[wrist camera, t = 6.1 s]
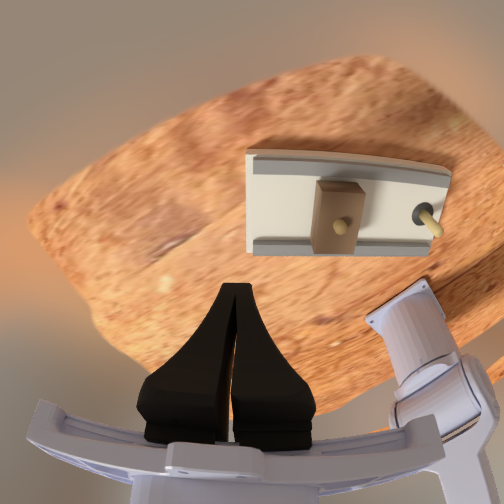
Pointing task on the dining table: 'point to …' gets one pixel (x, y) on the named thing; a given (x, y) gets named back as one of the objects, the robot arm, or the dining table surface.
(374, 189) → the plate
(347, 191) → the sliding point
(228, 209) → the dining table surface
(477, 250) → the dining table surface
